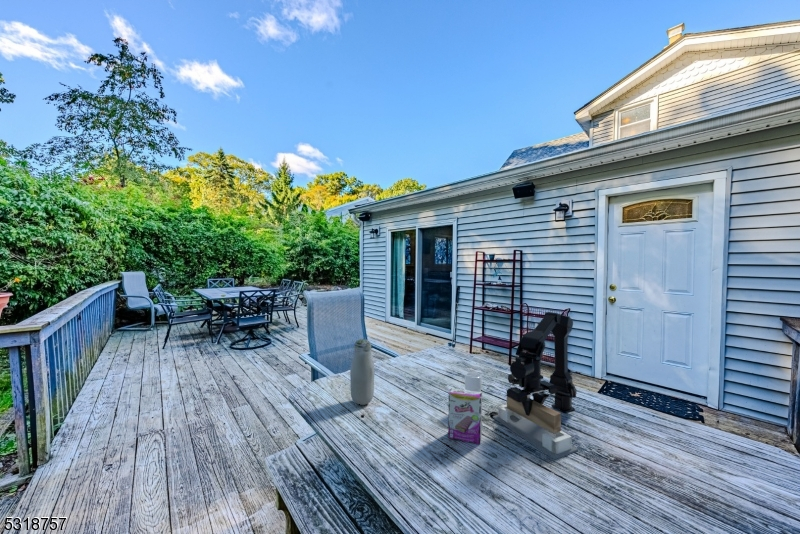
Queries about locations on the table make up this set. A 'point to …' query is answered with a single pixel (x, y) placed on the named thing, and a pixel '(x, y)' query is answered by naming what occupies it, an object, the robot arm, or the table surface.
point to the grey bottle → (362, 373)
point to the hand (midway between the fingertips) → (531, 414)
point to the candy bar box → (465, 415)
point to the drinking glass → (473, 381)
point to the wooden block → (538, 415)
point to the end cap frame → (536, 434)
